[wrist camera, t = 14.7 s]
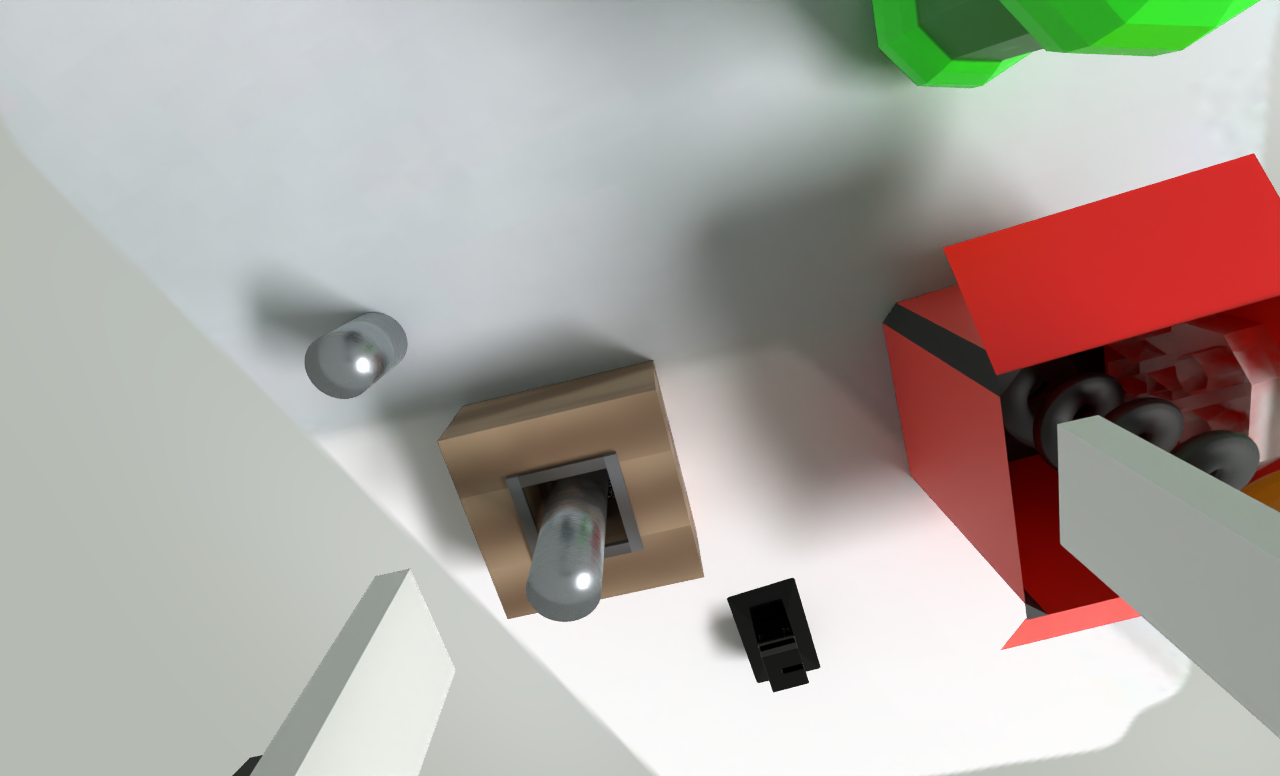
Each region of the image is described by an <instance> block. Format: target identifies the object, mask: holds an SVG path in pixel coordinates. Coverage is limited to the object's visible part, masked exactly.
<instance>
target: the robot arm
mask: <svg viewBox="0 0 1280 776" xmlns="http://www.w3.org/2000/svg"><path fill="white" fill-rule="evenodd" d="M1057 434H1058V474H1059V515H1060V544H1061V545H1062V546H1063V547H1064V548H1065V549H1067V550H1068V551H1069V552H1070V553H1071V554H1072V555H1073V556H1074V557H1076V558H1077V559H1078V560H1079V561H1080V562H1081V563H1082V564H1083V565H1085V566H1086V567H1087V568H1088V569H1089V570H1090V571H1091V572H1092V573H1094V574H1095V575H1096V576H1097V577H1098V578H1099V579H1100V580H1101V581H1103V582H1104V583H1105V584H1106V585H1107V586H1108V587H1109V588H1111V589H1112V590H1113V591H1114V592H1115V593H1116V594H1117V595H1118V596H1120V597H1121V598H1122V599H1123V600H1124V601H1125V602H1126V603H1127V604H1129V605H1130V606H1131V607H1132V608H1133V609H1134V610H1135V611H1136V612H1138V613H1139V614H1140V615H1141V616H1142V617H1143V618H1144V619H1145V620H1147V621H1148V622H1149V623H1150V624H1151V625H1152V626H1153V627H1154V628H1156V629H1157V630H1158V631H1159V632H1160V633H1161V634H1162V635H1164V636H1165V637H1166V638H1167V639H1168V640H1169V641H1170V642H1171V643H1173V644H1174V645H1175V646H1176V647H1177V648H1178V649H1179V650H1180V651H1182V652H1183V653H1184V654H1185V655H1186V656H1187V657H1188V658H1189V659H1191V660H1192V661H1193V662H1194V663H1195V664H1196V665H1197V666H1199V667H1200V668H1201V669H1202V670H1203V671H1204V672H1205V673H1206V674H1207V675H1209V676H1210V677H1211V678H1212V679H1213V680H1214V681H1215V682H1217V683H1218V684H1219V685H1220V686H1221V687H1222V688H1223V689H1225V690H1226V691H1227V692H1228V693H1229V694H1230V695H1231V696H1232V697H1233V698H1235V699H1236V700H1237V701H1238V702H1239V703H1240V704H1241V705H1243V706H1244V707H1245V708H1246V709H1247V710H1248V711H1249V712H1250V713H1251V714H1253V715H1254V716H1255V717H1256V718H1257V719H1258V720H1259V721H1261V722H1262V723H1263V724H1264V725H1265V726H1266V727H1267V728H1268V729H1270V730H1271V731H1272V732H1273V733H1274V734H1275V735H1276V736H1277V737H1279V738H1280V512H1278V511H1276V510H1274V509H1272V508H1271V507H1269V506H1267V505H1265V504H1263V503H1261V502H1259V501H1258V500H1256V499H1254V498H1252V497H1250V496H1248V495H1246V494H1244V493H1243V492H1241V491H1239V490H1237V489H1235V488H1233V487H1231V486H1230V485H1228V484H1226V483H1224V482H1222V481H1220V480H1218V479H1217V478H1215V477H1213V476H1211V475H1209V474H1207V473H1205V472H1203V471H1202V470H1200V469H1198V468H1196V467H1194V466H1192V465H1190V464H1189V463H1187V462H1185V461H1183V460H1181V459H1179V458H1177V457H1176V456H1174V455H1172V454H1170V453H1168V452H1166V451H1164V450H1162V449H1161V448H1159V447H1157V446H1155V445H1153V444H1151V443H1149V442H1148V441H1146V440H1144V439H1142V438H1140V437H1138V436H1136V435H1135V434H1133V433H1131V432H1129V431H1127V430H1125V429H1123V428H1121V427H1120V426H1118V425H1116V424H1114V423H1112V422H1110V421H1108V420H1107V419H1105V418H1103V417H1101V416H1099V415H1096V416H1092V417H1087V418H1083V419H1078V420H1074V421H1069V422H1065V423H1060V424H1057ZM454 673H455V668H454V666H453V664H452V661H451V659H450V657H449V655H448V652H447V650H446V648H445V646H444V643H443V641H442V639H441V637H440V634H439V632H438V630H437V628H436V625H435V623H434V621H433V619H432V617H431V614H430V612H429V610H428V608H427V605H426V603H425V601H424V599H423V596H422V594H421V592H420V590H419V588H418V585H417V583H416V581H415V579H414V576H413V574H412V572H411V569H406V570H402V571H397V572H393V573H388V574H384V575H379V576H375V578H374V580H373V581H372V583H371V584H370V586H369V587H368V589H367V590H366V592H365V594H364V595H363V597H362V598H361V600H360V602H359V603H358V605H357V606H356V608H355V609H354V611H353V613H352V614H351V616H350V618H349V619H348V621H347V622H346V624H345V626H344V627H343V629H342V630H341V632H340V633H339V635H338V637H337V638H336V640H335V642H334V643H333V644H332V646H331V648H330V649H329V651H328V652H327V654H326V656H325V657H324V659H323V660H322V662H321V664H320V665H319V667H318V668H317V670H316V671H315V673H314V675H313V676H312V678H311V680H310V681H309V683H308V684H307V686H306V687H305V689H304V690H303V692H302V694H301V695H300V697H299V698H298V700H297V702H296V703H295V705H294V706H293V708H292V709H291V711H290V713H289V714H288V716H287V718H286V720H285V721H284V722H283V724H282V725H281V727H280V729H279V730H278V732H277V733H276V735H275V736H274V738H273V740H272V741H271V743H270V744H269V746H268V748H267V749H266V751H265V752H264V754H263V755H261V756H257V757H252V758H249V760H247V762H245V763H244V765H243V766H242V767H241V768H240V769H239V770H238V771H237V772H236V773H235V774H234V775H233V776H418V775H419V772H420V769H421V767H422V764H423V761H424V758H425V755H426V753H427V749H428V747H429V744H430V741H431V738H432V735H433V733H434V730H435V727H436V724H437V721H438V718H439V716H440V713H441V710H442V707H443V704H444V702H445V699H446V696H447V693H448V690H449V687H450V685H451V682H452V679H453V676H454Z"/></svg>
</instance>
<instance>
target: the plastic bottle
mask: <svg viewBox="0 0 1280 776" xmlns="http://www.w3.org/2000/svg"><path fill="white" fill-rule="evenodd" d="M1258 1H1260V0H872V5H873V12H874V19H875V26H876V34H877V41H878V47H879V49H880V50H881V51H882V52H883V53H884V54H885V55H886V56H887V57H888V58H889V59H890V60H891V61H892V62H893V63H895V64H896V65H897V66H898V67H899V68H900V69H901V70H902V71H903V72H904V73H905V74H906V75H907V76H908V77H909V78H910V79H911V80H912V81H913V82H914V83H915V84H916V85H917V86H931V87H957V88H974V87H978V86H982V85H984V84H985V83H987V82H988V81H990V80H991V79H993V78H994V77H996V76H997V75H999V74H1000V73H1002V72H1003V71H1005V70H1006V69H1008V68H1009V67H1011V66H1012V65H1014V64H1015V63H1017V62H1018V61H1020V60H1021V59H1023V58H1024V57H1026V56H1027V55H1029V54H1030V53H1032V52H1033V51H1037V50H1040V49H1045V50H1046V51H1052V52H1062V53H1083V54H1108V55H1133V56H1157V55H1161V54H1166V53H1171V52H1175V51H1180V50H1183V49H1185V48H1186V47H1188V46H1189V45H1191V44H1192V43H1194V42H1196V41H1197V40H1199V39H1200V38H1202V37H1203V36H1205V35H1207V34H1208V33H1210V32H1211V31H1213V30H1214V29H1216V28H1218V27H1219V26H1221V25H1222V24H1224V23H1225V22H1227V21H1229V20H1230V19H1232V18H1233V17H1235V16H1236V15H1238V14H1240V13H1241V12H1243V11H1244V10H1246V9H1247V8H1249V7H1251V6H1252V5H1254V4H1255V3H1257V2H1258Z"/></svg>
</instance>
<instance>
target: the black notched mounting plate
mask: <svg viewBox="0 0 1280 776" xmlns="http://www.w3.org/2000/svg"><path fill="white" fill-rule="evenodd" d="M727 600H728V603H729V606H730V609H731V611H732V614H733V617H734V620H735V623H736V625H737V628H738V631H739V634H740V636H741V639H742V642H743V645H744V648H745V650H746V653H747V656H748V659H749V661H750V664H751V667H752V670H753V673H754V675H755V678H756V681H757V682H758V683H761V682H765V681H769V682H770V684H771V687H772V690H773V692H777V691H781V690H784V689H788V688H792V687H796V686H800V685H804V684H807V683H809V681H808V678H807V674H806V671H810V670H814V669H818V668H820V664H819V661H818V657H817V654H816V650H815V647H814V644H813V640H812V637H811V633H810V630H809V627H808V623H807V620H806V616H805V613H804V610H803V606H802V603H801V599H800V596H799V593H798V589H797V586H796V582H795V579H794V578H790V579H787V580H783V581H780V582H777V583H773V584H770V585H767V586H764V587H760V588H757V589H754V590H751V591H747V592H744V593H741V594H738V595H734V596H731V597H728V598H727Z"/></svg>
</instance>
